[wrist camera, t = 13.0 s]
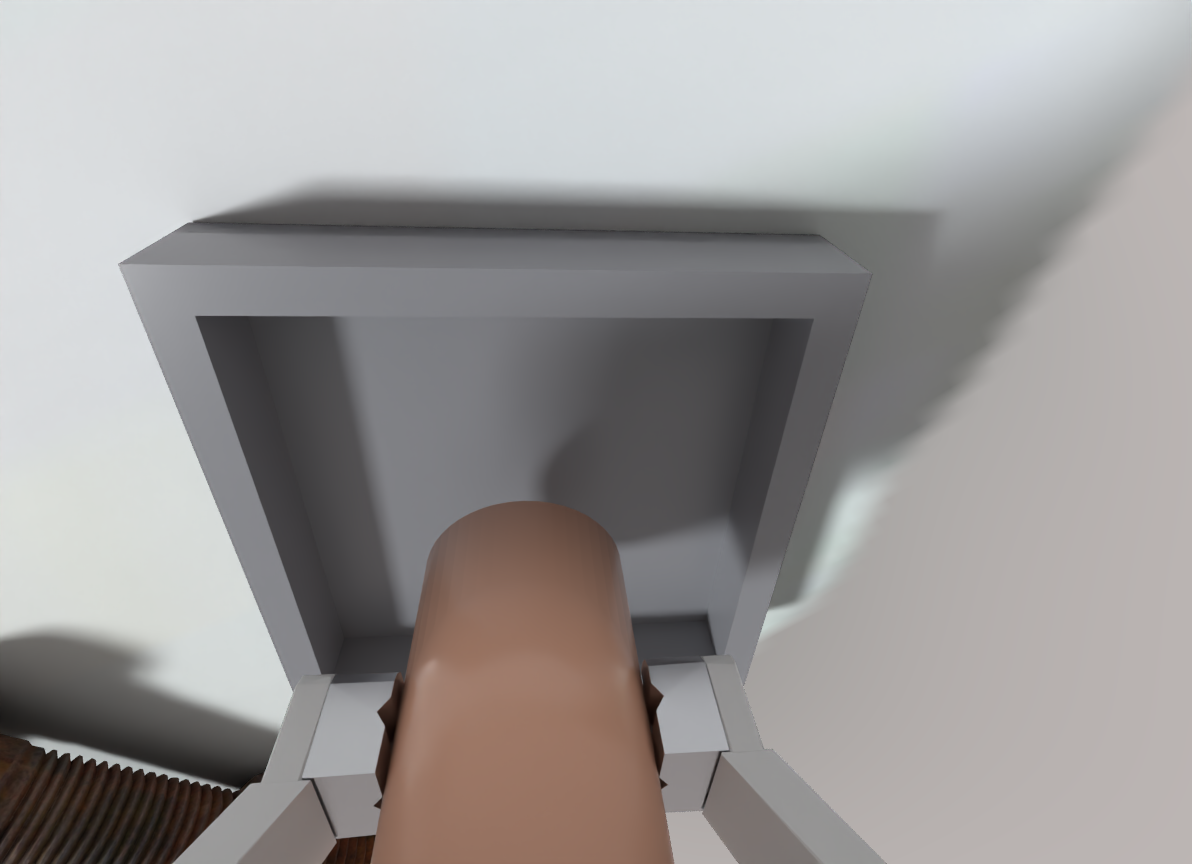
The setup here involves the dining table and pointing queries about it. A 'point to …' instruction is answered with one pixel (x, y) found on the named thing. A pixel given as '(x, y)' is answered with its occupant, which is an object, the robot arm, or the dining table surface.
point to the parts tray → (498, 410)
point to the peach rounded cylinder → (523, 703)
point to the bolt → (110, 812)
